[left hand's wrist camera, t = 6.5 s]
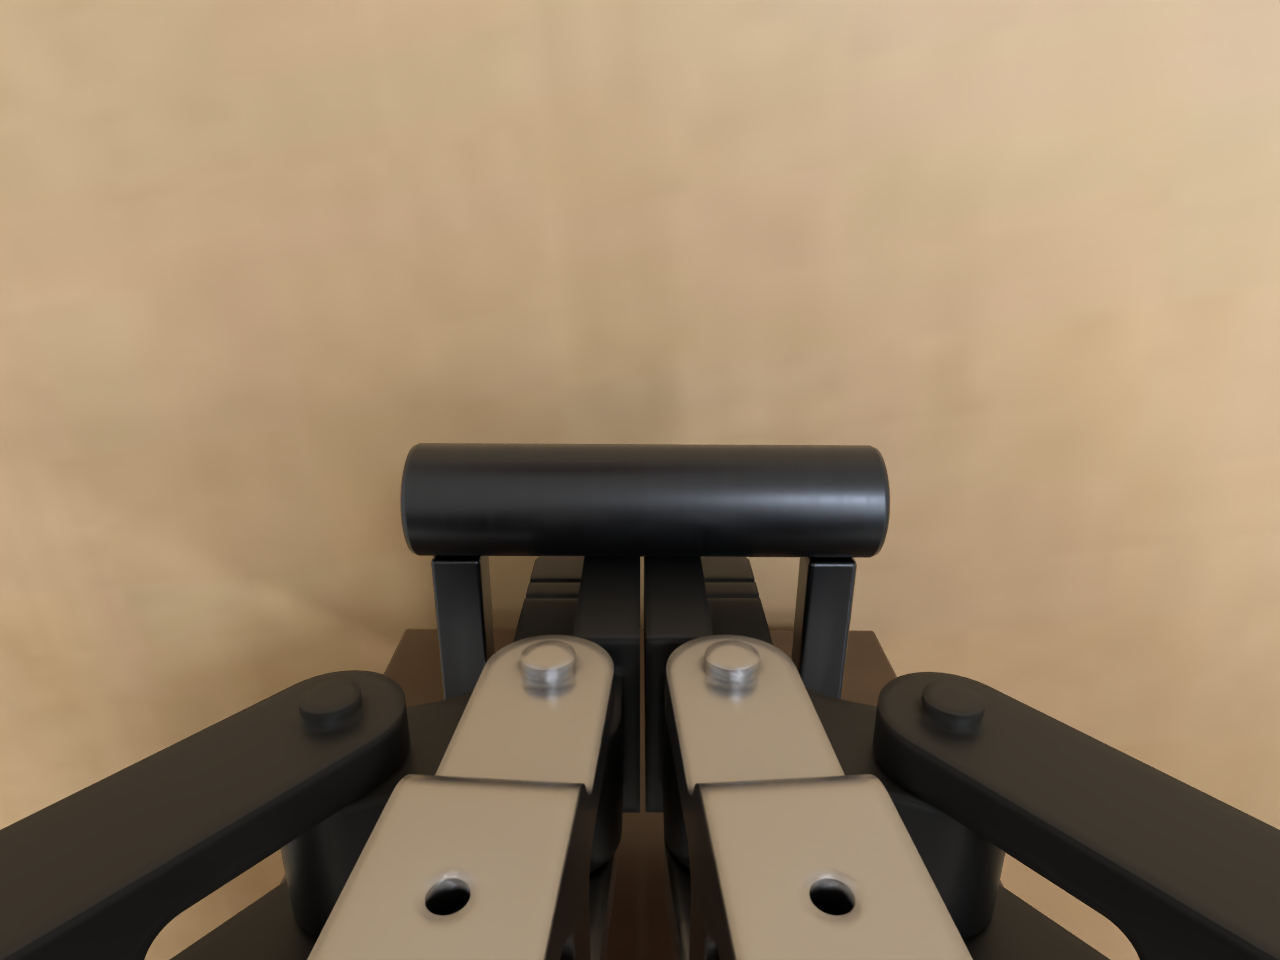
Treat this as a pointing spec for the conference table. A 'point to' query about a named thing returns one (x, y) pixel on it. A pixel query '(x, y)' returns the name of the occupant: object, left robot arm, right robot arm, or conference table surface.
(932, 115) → the conference table surface
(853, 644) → the drawer
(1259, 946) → the left robot arm
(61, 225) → the conference table surface
